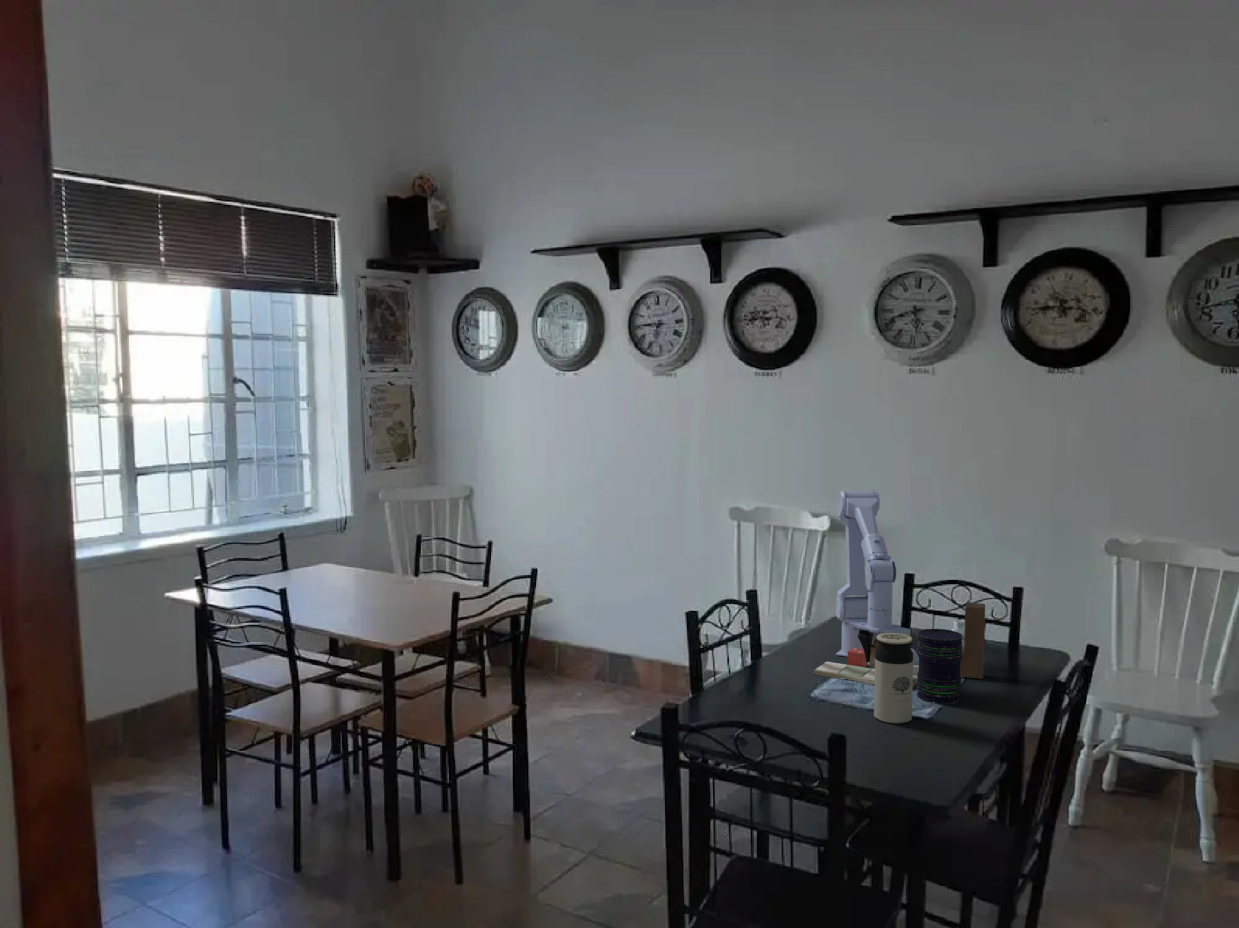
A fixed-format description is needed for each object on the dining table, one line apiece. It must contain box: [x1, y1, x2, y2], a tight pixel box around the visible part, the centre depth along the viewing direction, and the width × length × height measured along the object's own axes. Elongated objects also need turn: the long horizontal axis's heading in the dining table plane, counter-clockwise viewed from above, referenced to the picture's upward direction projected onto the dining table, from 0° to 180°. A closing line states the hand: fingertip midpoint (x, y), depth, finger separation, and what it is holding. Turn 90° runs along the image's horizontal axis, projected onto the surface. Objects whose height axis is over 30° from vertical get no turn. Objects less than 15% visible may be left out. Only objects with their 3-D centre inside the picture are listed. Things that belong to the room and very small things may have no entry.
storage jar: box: [916, 628, 963, 705], centre depth 229 cm, size 10×10×15 cm
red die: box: [846, 648, 869, 668], centre depth 254 cm, size 4×4×4 cm
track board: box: [813, 661, 918, 689], centre depth 245 cm, size 9×24×1 cm, turn 58°
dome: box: [910, 647, 919, 666], centre depth 249 cm, size 7×7×5 cm
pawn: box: [869, 638, 878, 669], centre depth 242 cm, size 4×4×7 cm
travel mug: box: [873, 633, 914, 724], centre depth 215 cm, size 8×8×18 cm
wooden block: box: [960, 602, 986, 680], centre depth 245 cm, size 9×4×18 cm, turn 68°
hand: (879, 662), depth 243 cm, fingers closed on pawn, 4 cm apart
